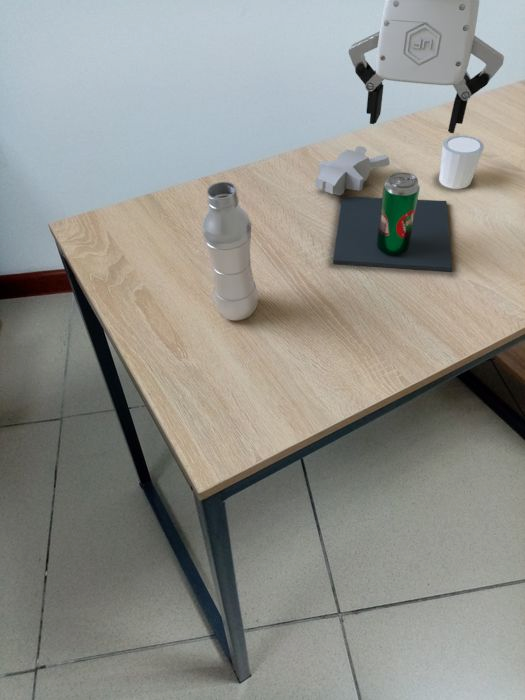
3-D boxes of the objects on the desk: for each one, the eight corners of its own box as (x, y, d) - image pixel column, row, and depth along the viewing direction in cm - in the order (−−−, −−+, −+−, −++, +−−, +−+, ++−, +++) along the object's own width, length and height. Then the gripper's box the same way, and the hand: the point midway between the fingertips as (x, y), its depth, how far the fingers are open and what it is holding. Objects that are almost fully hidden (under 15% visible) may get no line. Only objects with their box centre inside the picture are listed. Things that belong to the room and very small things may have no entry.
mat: (445, 204, 93) (446, 200, 92) (451, 271, 81) (452, 267, 80) (341, 199, 95) (342, 195, 95) (332, 263, 84) (333, 259, 83)
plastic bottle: (211, 325, 76) (188, 205, 61) (220, 293, 81) (201, 174, 66) (255, 327, 76) (243, 207, 61) (262, 295, 80) (252, 175, 65)
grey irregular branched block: (303, 165, 94) (355, 133, 101) (303, 191, 98) (353, 158, 104) (346, 183, 89) (397, 148, 96) (344, 209, 93) (393, 174, 100)
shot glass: (428, 182, 98) (435, 145, 92) (448, 166, 101) (456, 130, 95) (461, 195, 94) (470, 158, 89) (481, 178, 97) (491, 142, 92)
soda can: (374, 238, 86) (382, 171, 77) (406, 237, 86) (418, 169, 77) (377, 258, 83) (386, 190, 74) (410, 257, 83) (423, 189, 74)
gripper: (346, -34, 54) (338, 129, 67) (527, -28, 49) (481, 146, 62) (363, -53, 58) (353, 103, 71) (531, -49, 54) (487, 117, 67)
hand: (412, 123), depth 67 cm, fingers open, 9 cm apart
